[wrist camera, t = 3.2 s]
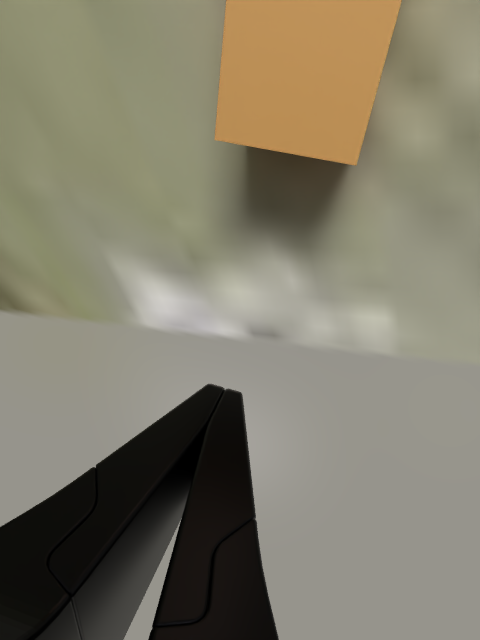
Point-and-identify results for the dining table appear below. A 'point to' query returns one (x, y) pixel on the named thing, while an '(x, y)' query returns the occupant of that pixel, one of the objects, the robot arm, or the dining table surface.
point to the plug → (302, 74)
